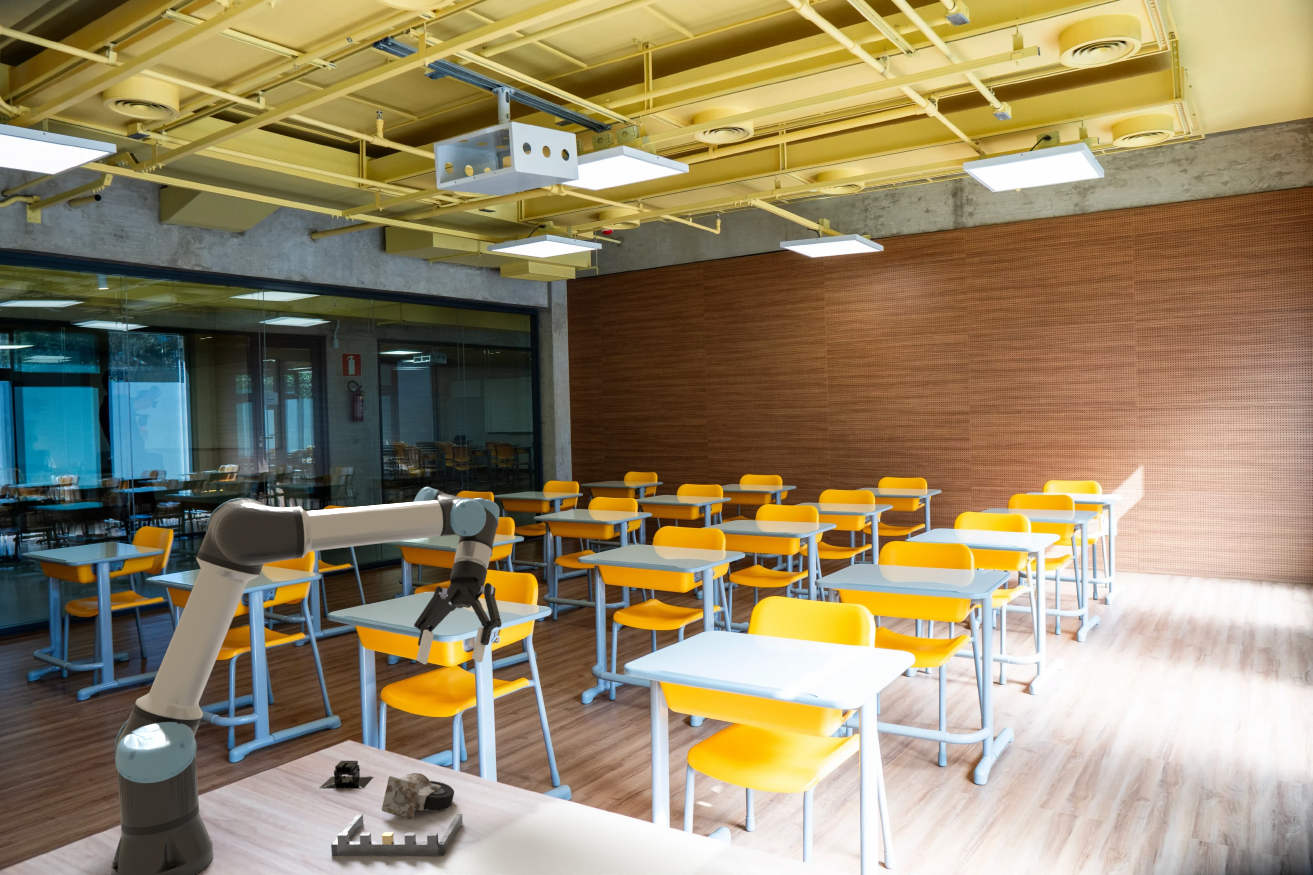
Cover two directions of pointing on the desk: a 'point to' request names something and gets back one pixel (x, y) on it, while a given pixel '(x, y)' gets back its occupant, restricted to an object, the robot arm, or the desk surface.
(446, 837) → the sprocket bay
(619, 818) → the desk surface
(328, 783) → the black mounting bracket
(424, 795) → the caster wheel
